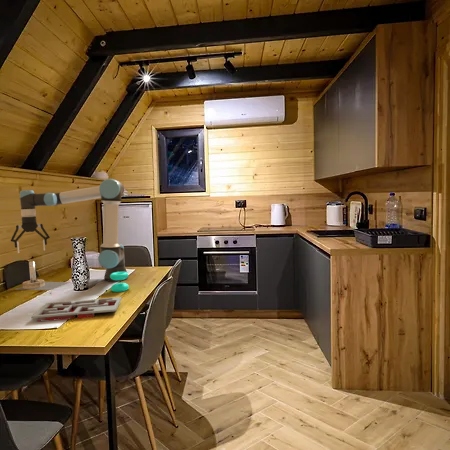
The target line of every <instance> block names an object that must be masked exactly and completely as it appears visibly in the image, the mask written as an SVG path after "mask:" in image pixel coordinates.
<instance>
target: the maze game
mask: <svg viewBox="0 0 450 450" xmlns="http://www.w3.org/2000/svg"><path fill="white" fill-rule="evenodd" d="M121 301H122V297H121V296H118V297H116V296H115V297H106V298H105V297H104V298H93V299H92V298H91V299H82V300H81V299H79V300H70V301H69V300H68V301H67V300H66V301H54V302H46V303H45V304H44V305H43V306H42V307H40V308H39V309H38V310H37V311H36V312H35V313H33V315H31V316H30V319H37V322H42V321H41V320H49V321H55V320H54V319H60V320H68V319H69V318H71V319H74V318H76V316H77V319H87V318H94V317H95V316H96V314H100V313H101V314H102V313H111V312H112V313H113V312H117V309H118V307H119V305H120V303H121Z"/></svg>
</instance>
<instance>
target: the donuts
mask: <svg viewBox="0 0 450 450" xmlns="http://www.w3.org/2000/svg"><path fill="white" fill-rule="evenodd" d="M127 277H128V278H129V273H128V271H127V272H115V273H112V274H111V275H110V278H111V279H112V280H122V281H124V280H123V279H126V278H127ZM126 280H127V279H126ZM129 288H130V286H129V284H128V283H126V282H118V283H114V284H112V285H111V287H110V291H112V292H114V293H120V292H121V293H122V292H125V291H127V290H129Z"/></svg>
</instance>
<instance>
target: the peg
mask: <svg viewBox="0 0 450 450" xmlns="http://www.w3.org/2000/svg"><path fill="white" fill-rule="evenodd" d="M35 263H36V262H35V261H29V262H28V266H29V267H28V268H29V279H30V280H29V281H30V282H31V283H33V282H36V280H37V275H36V274H37V273H36V264H35Z"/></svg>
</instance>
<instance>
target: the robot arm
mask: <svg viewBox="0 0 450 450" xmlns="http://www.w3.org/2000/svg"><path fill="white" fill-rule="evenodd" d="M124 192H125V187H124V185H123V182H121V181H119V180H116V179H115V178H106V179H105V180H103V181H101V183H100V184H99V185H98V186H92V187H91V186H90V187H85V188H79V189H73V190H67V191H62V192H44V193H43V192H42V193H35V191H34V190H32V189H31V190H27V189H26V190H20V191H19V201H20V203H19V205H20V214H21V225H18V224H17V225H16V226H15V231H14V233H13V235H12V237H11V239H10V241H11V242H12V243H14V247H15V248H16V249H17V254H20V244H19V240H20V239H21V238H22V236H23V235H24V234H25V233H33V232H36V233H37V234H38V235H39V236H40V237H41V238H42V239H43V240H42V245H43V252H44V251H46V246H47V245H48V239H50V237H51V236H49V234H48V232H47V231H46V230H45V228H44V226H43V225H44V224H43V223H38V221H37V217H36V215H37V212H36V211H37V210H36V207H40V206H41V207H47V206H48V207H51V206H54V207H55V206H60V205H64V204H72V203H78V202H84V201H90V200H97V199H100V202H101V203H103V220H102V221H103V225H102V226H103V227H102V228H103V230H102V231H103V233H102V235H103V236H102V244H100V246H99V247H100V249H99V250H100V253H99V255H98V259H97V261H98V263H99V265H100V266H101V267H103V268H104V269H105V272H104V277H103V280H104V282H109V283H110V282H121V281H125V280H128V279H129V276H128V277H127V278H126V279H123V280H112V279H111V278H110V275H111V274H112V273H115V272H127V273H128V271H127V268H126V265H125V263H126V261H125V247H124V245H123V244H120V243H119V205H120V203H122V196H123V194H124ZM37 228H40V229H41V230H42V232H43V233H44V234H45V235H43V233H41V232H40V231H39V230H38V229H37ZM20 229H22V231H21V232H20V233H19V235H17V233H18V231H19V230H20ZM16 236H17V237H16Z"/></svg>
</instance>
